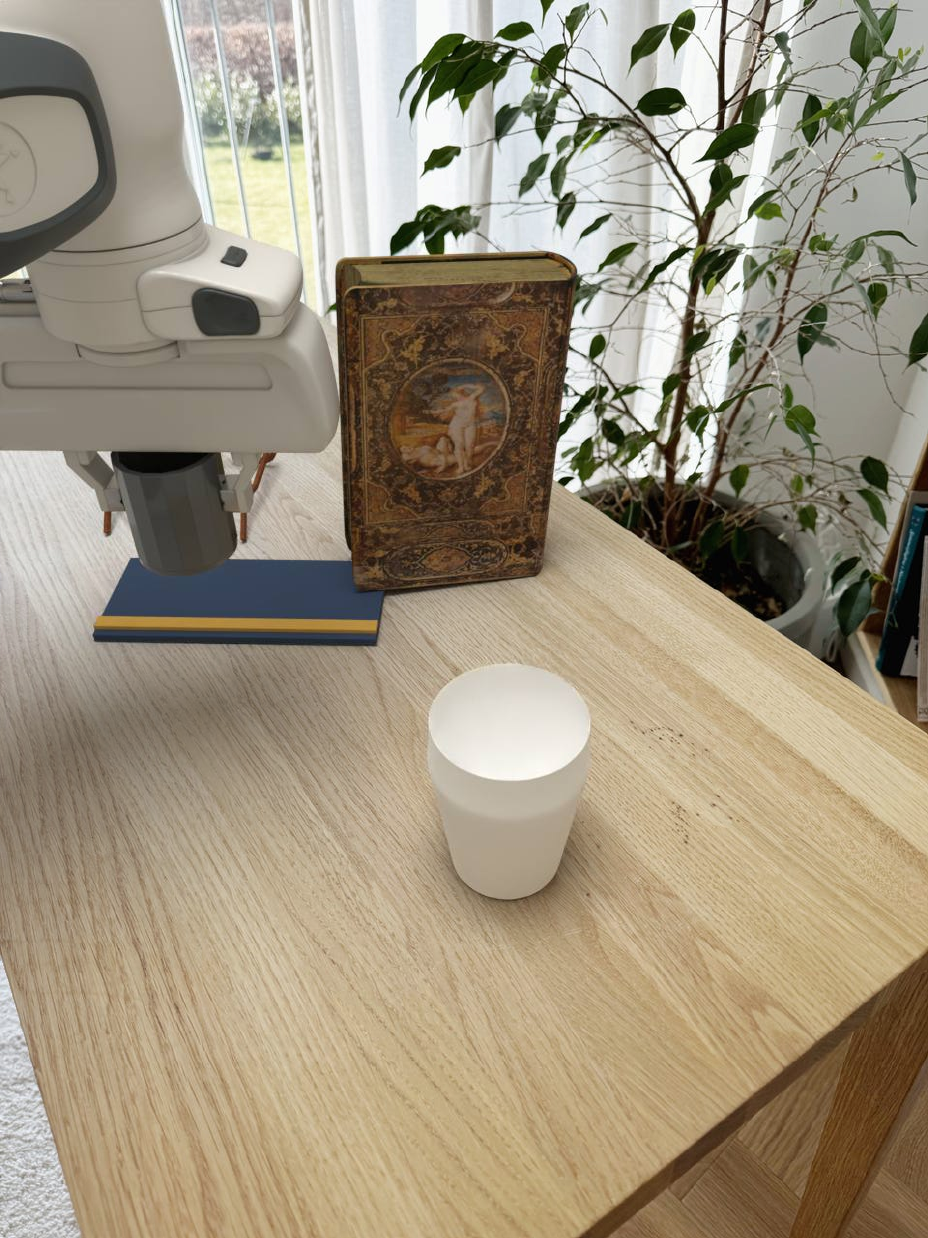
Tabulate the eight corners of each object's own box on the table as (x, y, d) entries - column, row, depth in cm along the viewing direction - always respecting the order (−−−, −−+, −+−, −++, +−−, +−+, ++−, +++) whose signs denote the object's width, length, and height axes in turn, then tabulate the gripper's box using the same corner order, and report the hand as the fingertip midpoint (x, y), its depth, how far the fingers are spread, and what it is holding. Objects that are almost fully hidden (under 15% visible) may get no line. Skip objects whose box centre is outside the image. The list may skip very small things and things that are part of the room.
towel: (94, 641, 75) (90, 630, 75) (132, 563, 83) (129, 553, 82) (376, 646, 75) (375, 635, 74) (388, 567, 82) (388, 556, 81)
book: (532, 536, 85) (563, 249, 69) (549, 574, 81) (586, 279, 65) (345, 553, 82) (332, 257, 66) (353, 593, 78) (341, 288, 62)
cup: (469, 942, 55) (467, 807, 47) (410, 825, 61) (400, 689, 54) (606, 885, 58) (626, 749, 50) (537, 779, 64) (544, 643, 56)
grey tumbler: (126, 576, 58) (96, 476, 53) (154, 519, 63) (129, 422, 58) (225, 577, 58) (204, 477, 53) (246, 520, 62) (228, 422, 58)
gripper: (-106, 303, 47) (-12, 535, 56) (311, 304, 46) (339, 539, 55) (-49, 256, 52) (29, 477, 61) (330, 256, 51) (353, 480, 60)
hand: (179, 507), depth 58 cm, fingers closed on grey tumbler, 6 cm apart
